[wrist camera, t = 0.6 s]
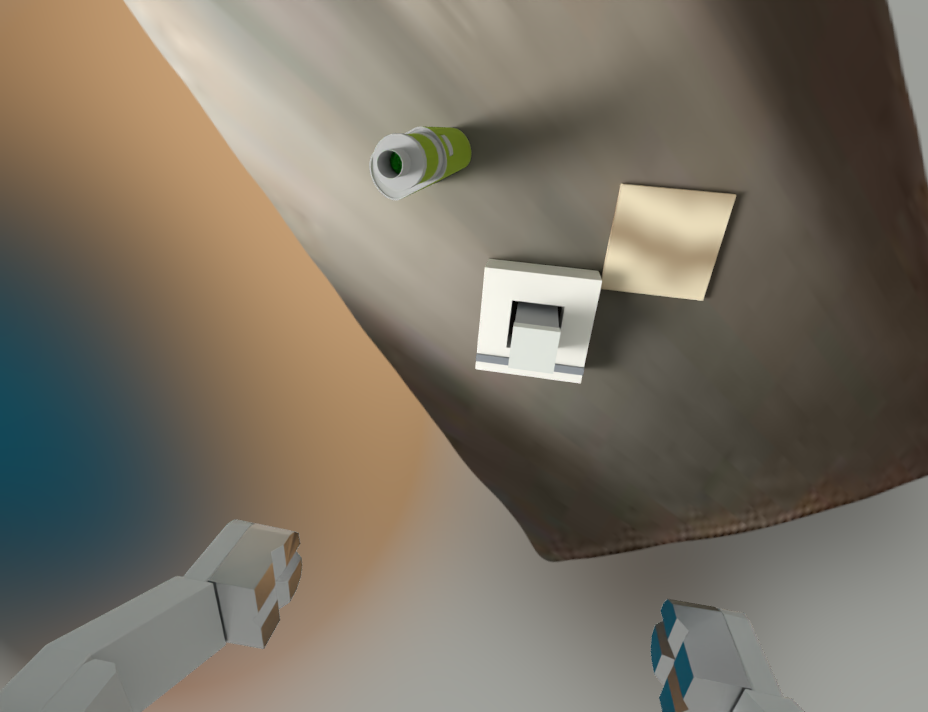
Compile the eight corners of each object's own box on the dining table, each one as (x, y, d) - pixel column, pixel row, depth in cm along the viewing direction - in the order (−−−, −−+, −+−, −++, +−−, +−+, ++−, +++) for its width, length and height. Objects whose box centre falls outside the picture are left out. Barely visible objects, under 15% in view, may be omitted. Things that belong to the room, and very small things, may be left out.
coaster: (620, 183, 43) (622, 184, 43) (733, 193, 42) (736, 194, 42) (599, 286, 48) (600, 288, 47) (700, 298, 47) (702, 300, 46)
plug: (518, 294, 50) (513, 326, 42) (558, 299, 49) (560, 332, 41) (513, 330, 51) (507, 367, 43) (551, 335, 51) (553, 373, 43)
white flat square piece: (488, 258, 48) (484, 268, 45) (598, 270, 47) (602, 281, 44) (479, 355, 53) (475, 370, 50) (578, 368, 52) (580, 384, 49)
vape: (478, 160, 44) (434, 179, 27) (424, 188, 46) (350, 224, 29) (461, 121, 43) (403, 114, 25) (406, 151, 45) (317, 165, 27)
